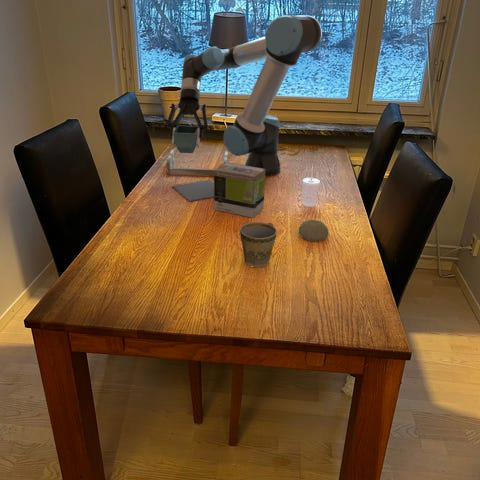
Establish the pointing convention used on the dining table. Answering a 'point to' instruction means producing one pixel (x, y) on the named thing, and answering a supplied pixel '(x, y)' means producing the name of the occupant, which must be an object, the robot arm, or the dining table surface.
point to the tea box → (239, 189)
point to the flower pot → (185, 138)
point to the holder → (188, 171)
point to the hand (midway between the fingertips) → (185, 145)
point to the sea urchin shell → (313, 230)
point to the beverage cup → (310, 190)
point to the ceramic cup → (257, 242)
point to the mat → (196, 190)
